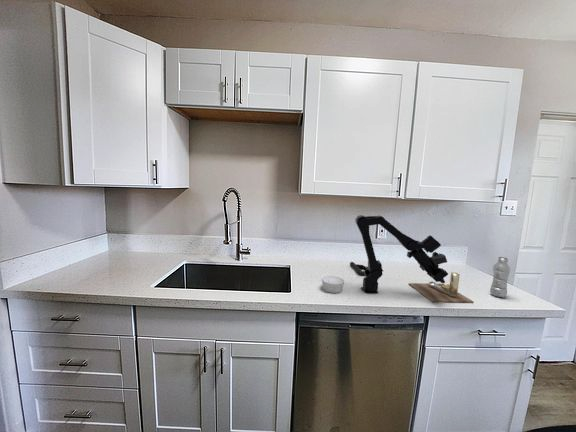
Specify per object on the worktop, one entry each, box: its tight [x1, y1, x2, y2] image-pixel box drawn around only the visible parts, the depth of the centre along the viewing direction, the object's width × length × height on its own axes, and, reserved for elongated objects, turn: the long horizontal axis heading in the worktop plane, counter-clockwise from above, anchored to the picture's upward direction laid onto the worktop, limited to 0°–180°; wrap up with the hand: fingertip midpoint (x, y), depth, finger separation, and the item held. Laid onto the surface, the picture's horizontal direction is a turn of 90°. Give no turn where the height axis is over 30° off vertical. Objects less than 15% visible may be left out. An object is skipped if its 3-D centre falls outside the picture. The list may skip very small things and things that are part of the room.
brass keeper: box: [441, 284, 450, 290], centre depth 125 cm, size 7×3×3 cm, turn 117°
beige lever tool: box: [427, 271, 460, 296], centre depth 125 cm, size 16×4×11 cm, turn 15°
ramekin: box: [321, 275, 345, 294], centre depth 125 cm, size 11×11×5 cm
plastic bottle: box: [489, 256, 511, 299], centre depth 123 cm, size 6×7×20 cm
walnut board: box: [408, 282, 475, 304], centre depth 126 cm, size 20×21×1 cm
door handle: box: [349, 261, 368, 277], centre depth 156 cm, size 3×20×16 cm
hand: (444, 282), depth 119 cm, fingers closed
